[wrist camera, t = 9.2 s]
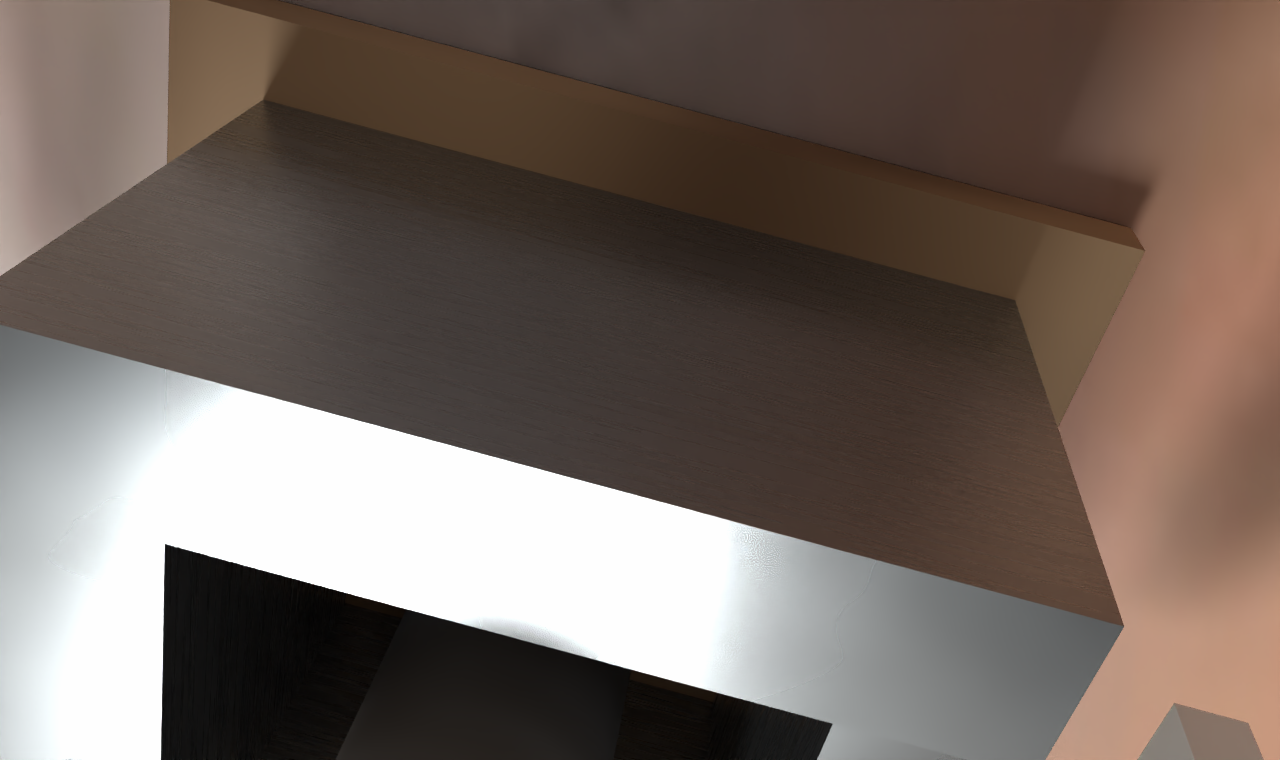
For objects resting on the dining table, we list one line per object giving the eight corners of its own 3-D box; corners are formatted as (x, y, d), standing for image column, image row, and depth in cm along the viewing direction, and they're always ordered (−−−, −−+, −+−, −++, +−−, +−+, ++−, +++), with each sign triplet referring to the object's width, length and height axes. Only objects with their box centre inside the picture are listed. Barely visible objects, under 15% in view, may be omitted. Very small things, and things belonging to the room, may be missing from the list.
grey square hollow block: (1015, 300, 12) (1124, 625, 8) (791, 805, 16) (780, 1206, 12) (263, 99, 12) (-52, 310, 8) (230, 654, 16) (12, 997, 12)
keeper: (1131, 228, 12) (1500, 833, 5) (834, 842, 17) (842, 1539, 11) (197, -22, 12) (-545, 282, 6) (177, 664, 17) (-222, 1248, 11)
